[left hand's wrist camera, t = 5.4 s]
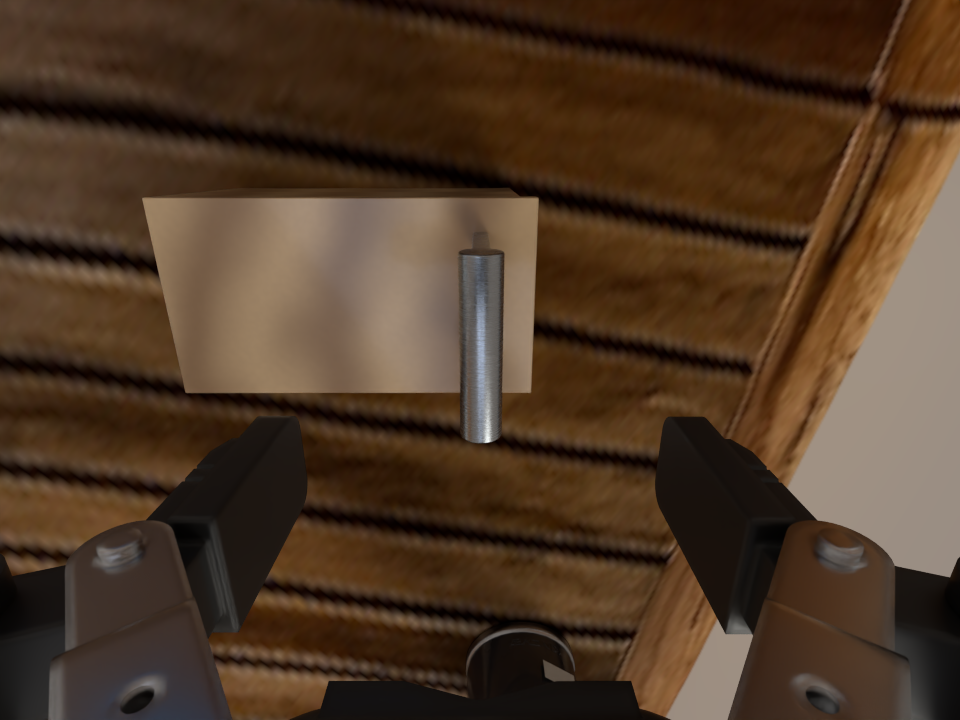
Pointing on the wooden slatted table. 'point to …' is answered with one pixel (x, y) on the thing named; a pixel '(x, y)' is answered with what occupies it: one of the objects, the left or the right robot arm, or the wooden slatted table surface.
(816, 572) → the left robot arm
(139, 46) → the wooden slatted table surface
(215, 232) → the lid
